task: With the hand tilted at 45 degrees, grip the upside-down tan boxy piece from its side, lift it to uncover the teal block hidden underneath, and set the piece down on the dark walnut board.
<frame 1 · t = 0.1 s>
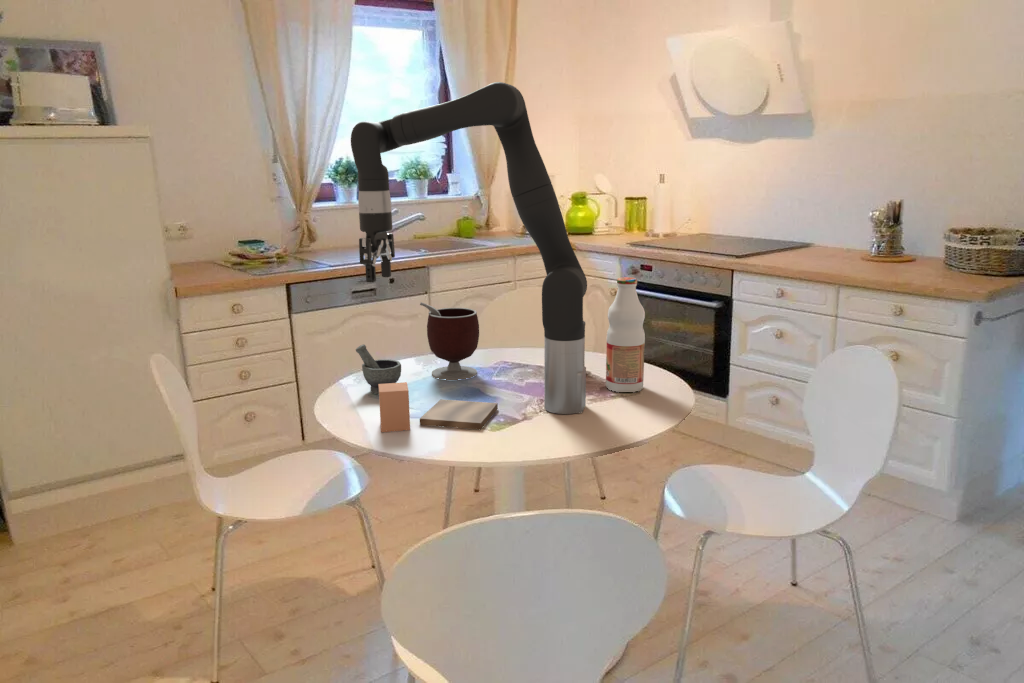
hand: (379, 279, 184), 29 cm above the table, tool pointing down, fingers open, 8 cm apart
walnut board: (459, 416, 175), on the table
tan boxy piece: (395, 426, 170), on the table
mortar and pestle: (380, 391, 196), on the table
teal block: (394, 418, 169), in the tan boxy piece
coffee can: (565, 373, 210), on the table
fruit juice: (624, 388, 195), on the table
mate gourd: (451, 375, 210), on the table
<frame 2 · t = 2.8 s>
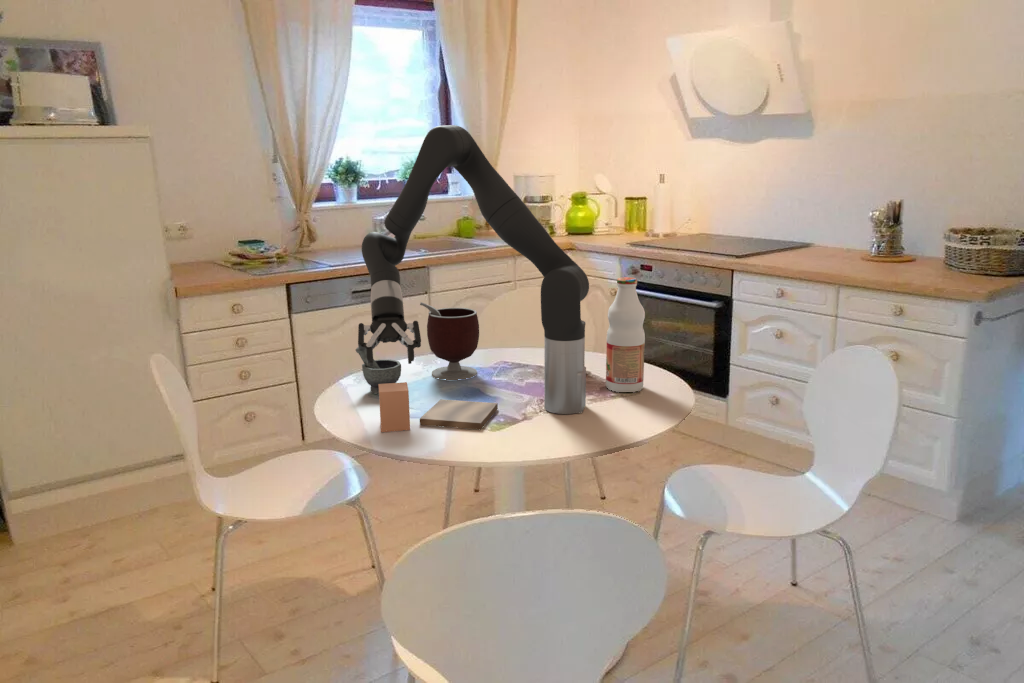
hand: (391, 363, 175), 12 cm above the table, tool tilted 45°, fingers open, 8 cm apart
nothing on the table moved.
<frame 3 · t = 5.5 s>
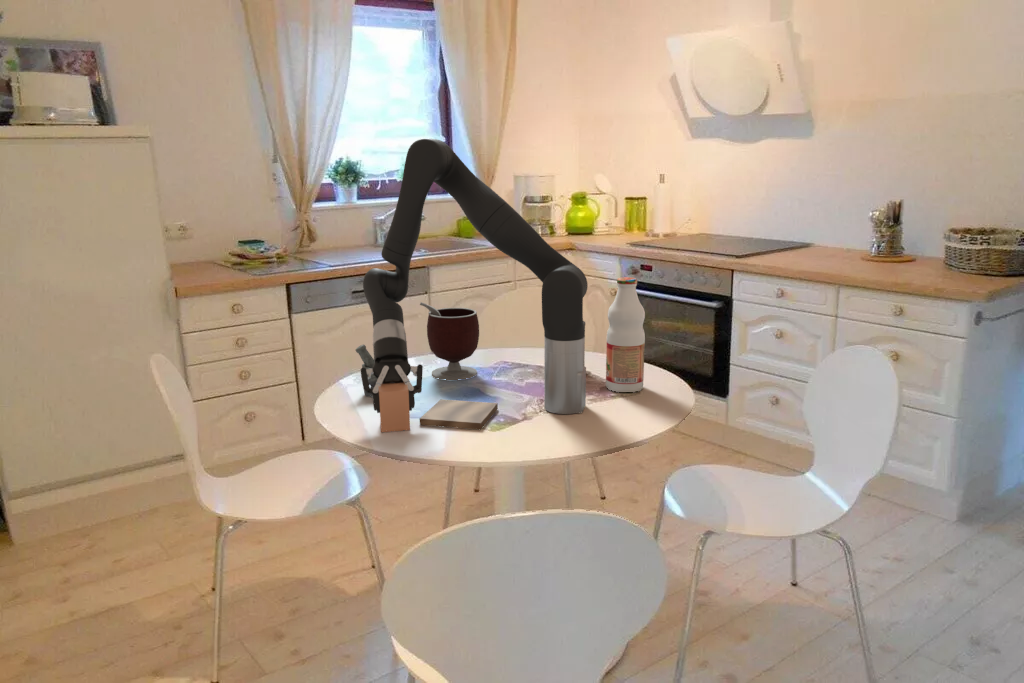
hand: (394, 410, 167), 4 cm above the table, tool tilted 45°, fingers closed on tan boxy piece, 6 cm apart
tan boxy piece: (395, 426, 170), on the table, touching gripper
everything else where it was.
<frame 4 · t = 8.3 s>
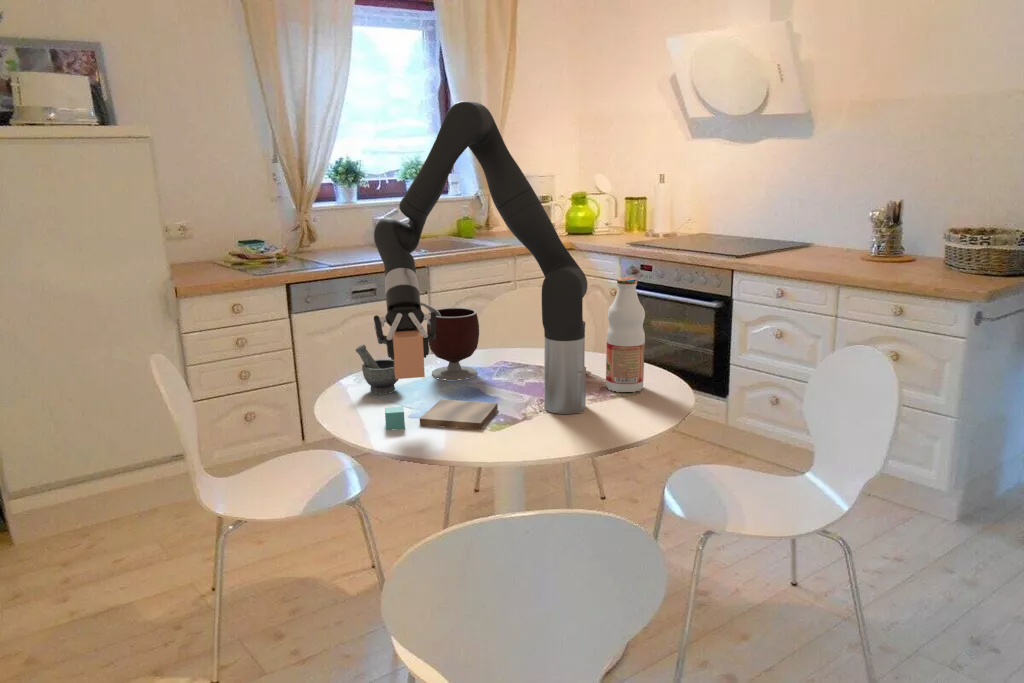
hand: (409, 356, 165), 16 cm above the table, tool tilted 45°, fingers closed on tan boxy piece, 6 cm apart
tan boxy piece: (409, 374, 168), point 12 cm above the table, touching gripper
everything else where it was.
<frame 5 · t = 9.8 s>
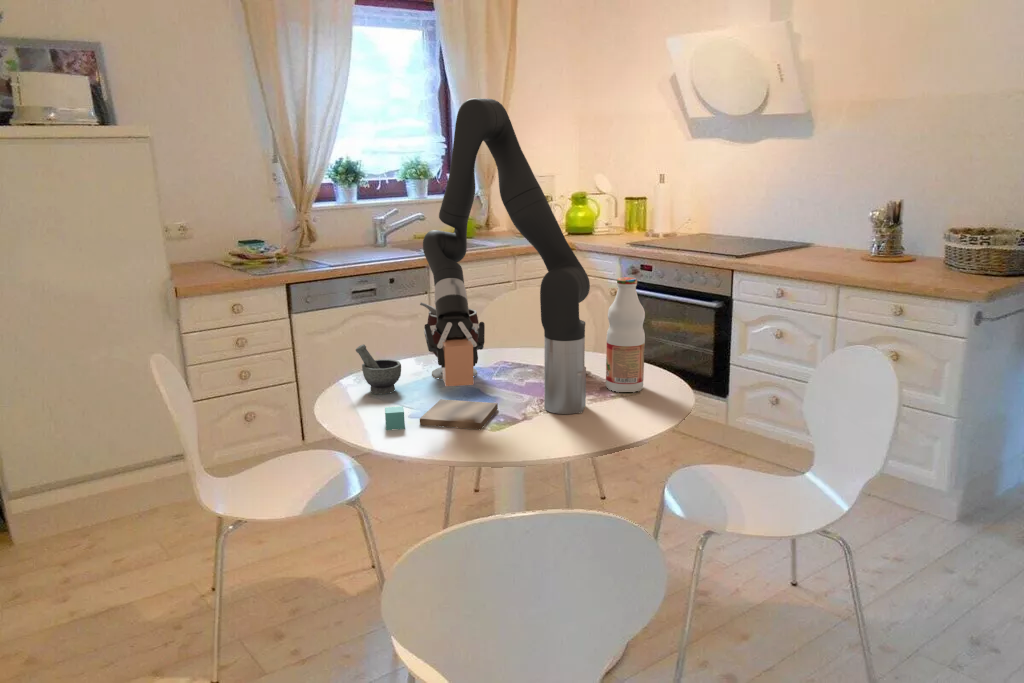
hand: (458, 365, 171), 13 cm above the table, tool tilted 45°, fingers closed on tan boxy piece, 6 cm apart
tan boxy piece: (457, 381, 173), point 8 cm above the table, touching gripper
everything else where it was.
when the fingers open (7 cm above the table, at t = 11.2 s): tan boxy piece drops 1 cm, resting on walnut board.
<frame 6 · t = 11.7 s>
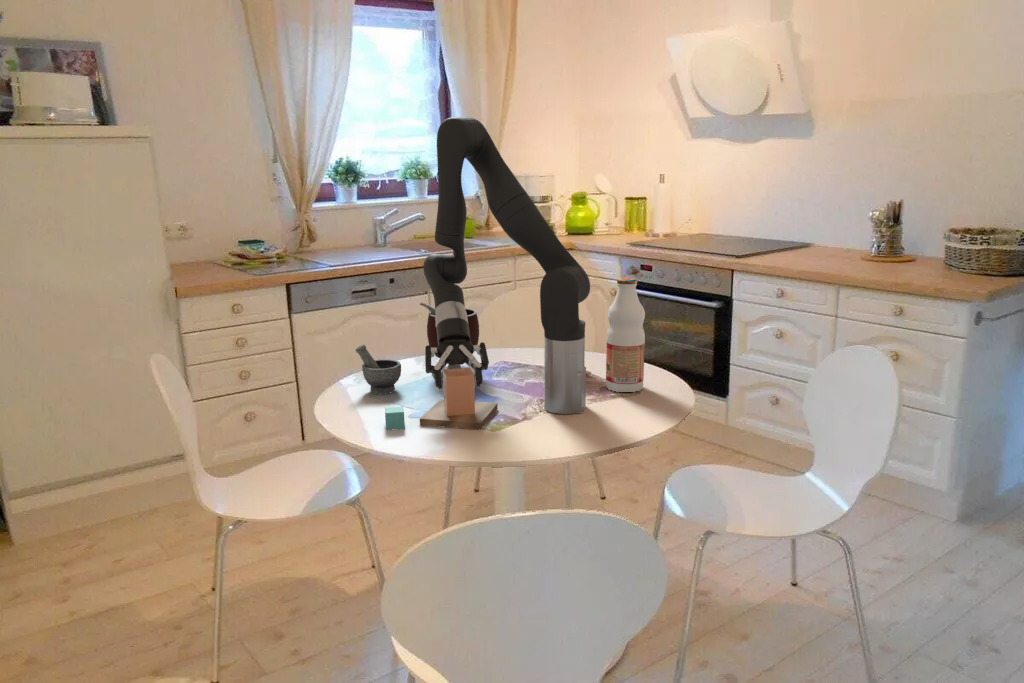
hand: (459, 386, 172), 8 cm above the table, tool tilted 45°, fingers open, 8 cm apart
tan boxy piece: (459, 410, 175), point 1 cm above the table, touching walnut board
everything else where it was.
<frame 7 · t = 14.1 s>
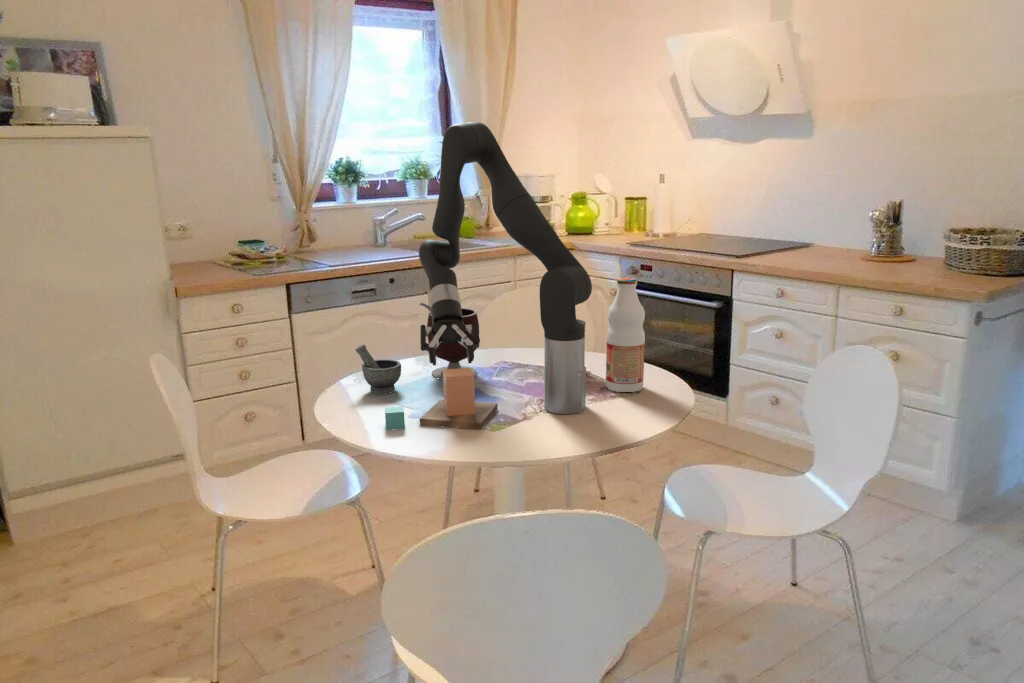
hand: (452, 362, 184), 10 cm above the table, tool tilted 45°, fingers open, 8 cm apart
nothing on the table moved.
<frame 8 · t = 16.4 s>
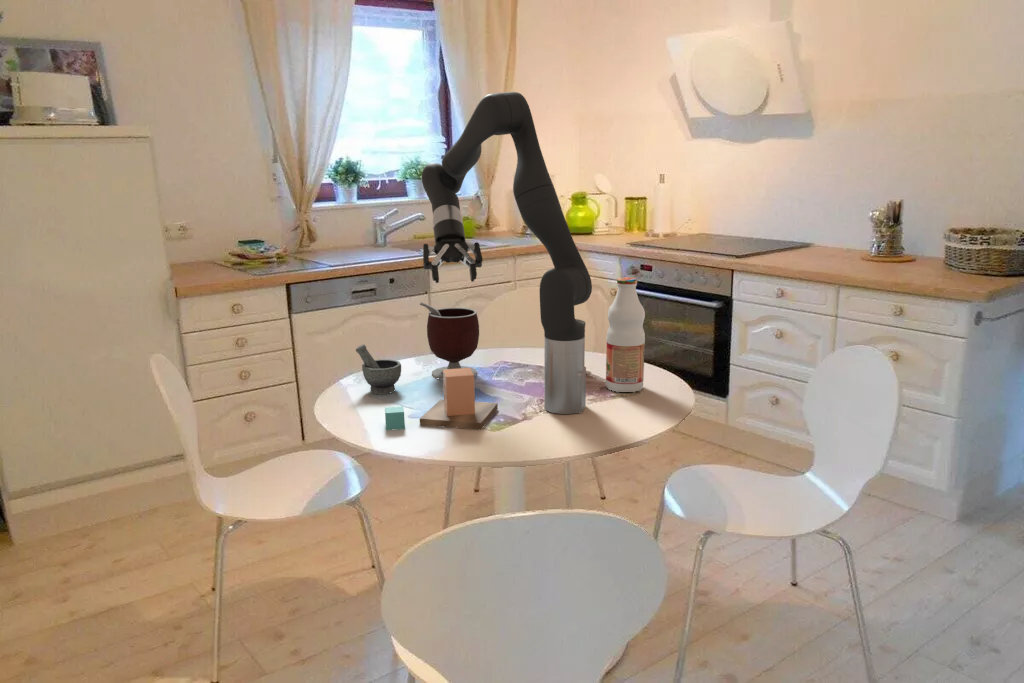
hand: (455, 280, 185), 29 cm above the table, tool tilted 45°, fingers open, 8 cm apart
nothing on the table moved.
at the end: tan boxy piece inside the target area on the walnut board (0.1 cm from its centre), point 1.5 cm above the walnut board's base; tan boxy piece tilted 0°; the gripper is holding nothing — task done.
